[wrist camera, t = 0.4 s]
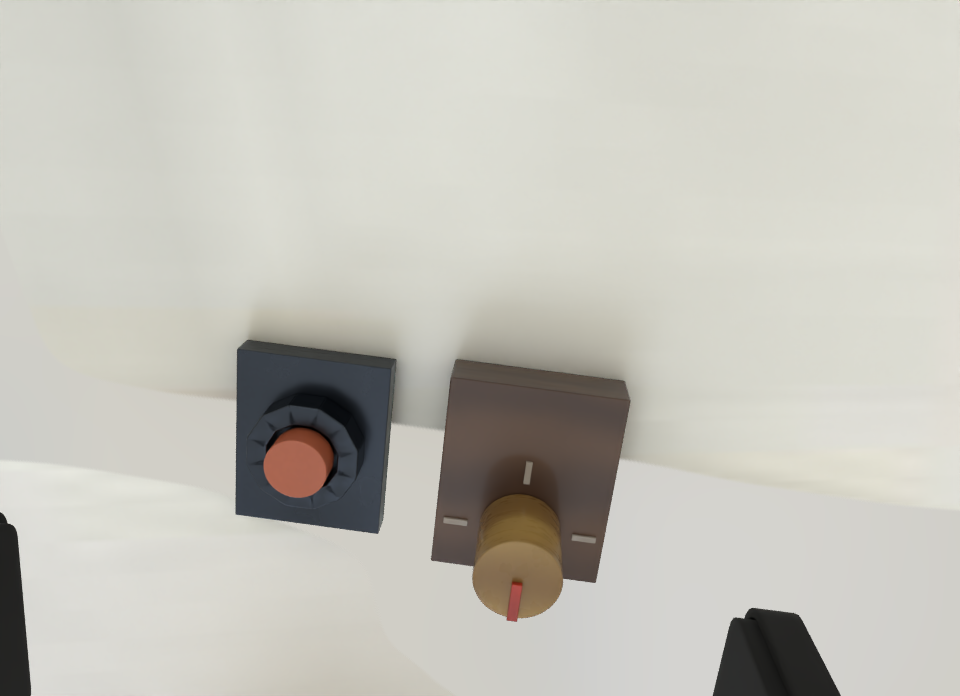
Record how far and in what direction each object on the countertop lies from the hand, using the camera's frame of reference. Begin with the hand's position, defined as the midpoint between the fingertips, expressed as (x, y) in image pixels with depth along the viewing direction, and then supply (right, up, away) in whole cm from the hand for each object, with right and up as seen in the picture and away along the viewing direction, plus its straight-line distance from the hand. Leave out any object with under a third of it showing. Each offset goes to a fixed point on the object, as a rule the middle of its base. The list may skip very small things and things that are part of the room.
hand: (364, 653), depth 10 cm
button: (-9, -2, +35) cm, 37 cm away
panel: (+4, -3, +38) cm, 38 cm away
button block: (-9, -1, +38) cm, 39 cm away
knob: (+4, -7, +36) cm, 37 cm away
